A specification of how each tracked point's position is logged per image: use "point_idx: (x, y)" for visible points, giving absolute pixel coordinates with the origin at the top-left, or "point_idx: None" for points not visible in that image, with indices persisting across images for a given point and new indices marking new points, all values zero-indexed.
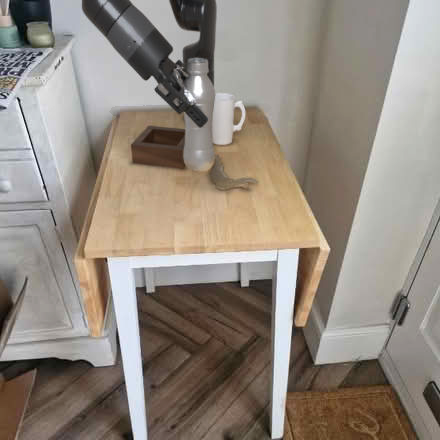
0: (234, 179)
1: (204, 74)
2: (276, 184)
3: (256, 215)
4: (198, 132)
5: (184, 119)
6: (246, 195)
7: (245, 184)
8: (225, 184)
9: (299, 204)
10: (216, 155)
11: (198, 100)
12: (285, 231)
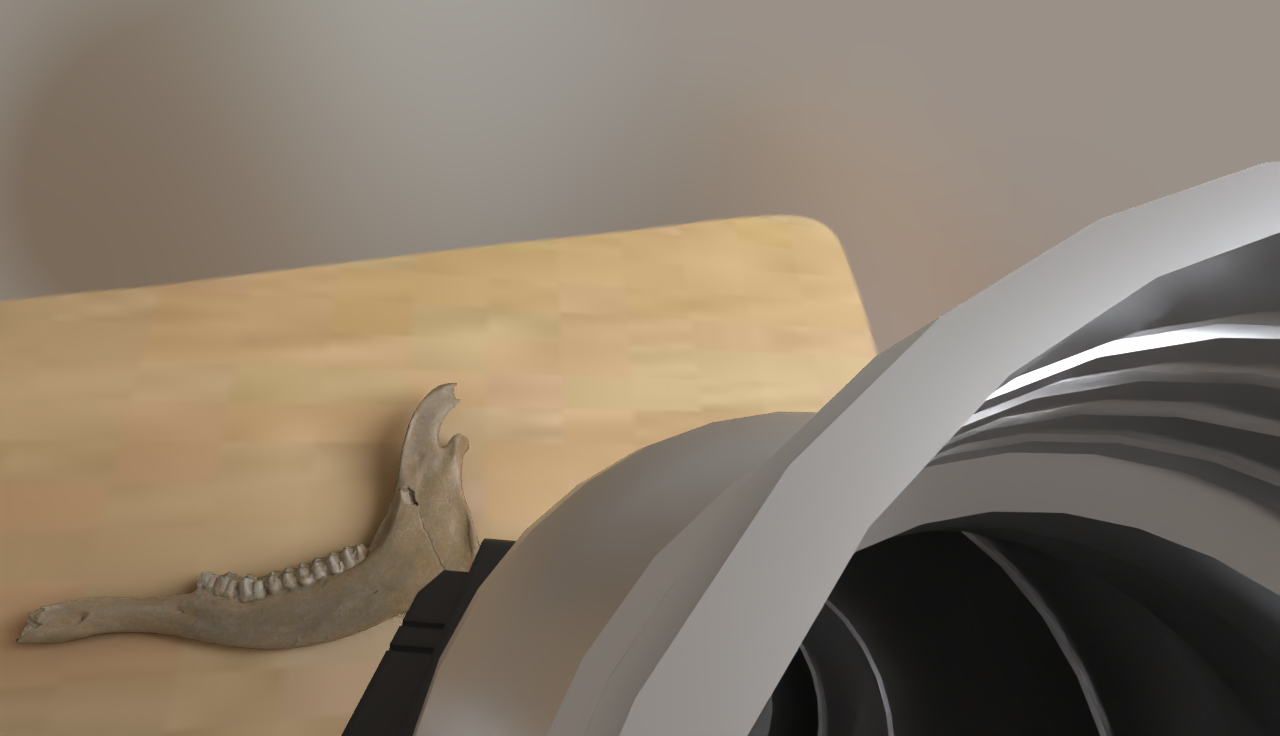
0: (403, 503)
1: (1222, 572)
2: (415, 317)
3: (695, 408)
4: (864, 708)
5: None
6: (518, 450)
7: (460, 446)
8: (442, 552)
9: (592, 244)
10: (41, 626)
11: (1149, 733)
12: (800, 307)
